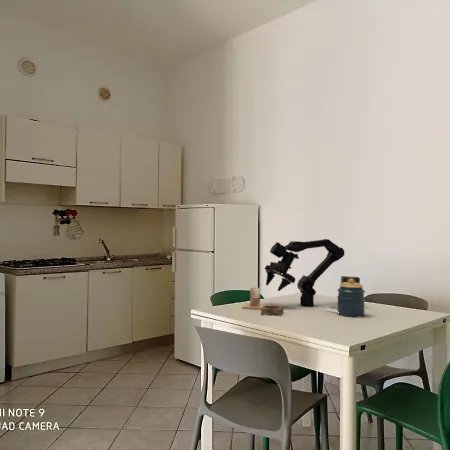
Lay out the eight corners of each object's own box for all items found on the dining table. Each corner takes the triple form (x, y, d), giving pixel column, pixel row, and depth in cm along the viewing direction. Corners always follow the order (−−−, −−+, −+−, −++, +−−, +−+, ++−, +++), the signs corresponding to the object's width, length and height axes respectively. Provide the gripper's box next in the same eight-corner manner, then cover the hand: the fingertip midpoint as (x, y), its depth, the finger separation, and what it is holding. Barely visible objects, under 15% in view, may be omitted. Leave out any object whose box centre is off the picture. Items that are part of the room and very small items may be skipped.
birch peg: (261, 305, 229) (261, 288, 229) (255, 306, 225) (255, 289, 225) (254, 304, 232) (254, 287, 232) (248, 305, 229) (248, 288, 229)
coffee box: (341, 307, 234) (342, 277, 234) (339, 305, 240) (340, 276, 240) (359, 308, 233) (360, 277, 233) (357, 306, 239) (357, 276, 239)
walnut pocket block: (283, 312, 218) (283, 306, 218) (280, 315, 209) (281, 309, 209) (264, 310, 220) (264, 304, 220) (261, 314, 211) (261, 308, 211)
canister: (345, 317, 207) (346, 280, 207) (332, 312, 219) (332, 277, 220) (370, 316, 210) (370, 279, 210) (355, 311, 223) (355, 276, 223)
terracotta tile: (266, 306, 233) (266, 304, 233) (263, 310, 222) (263, 308, 222) (246, 305, 236) (246, 303, 236) (242, 308, 225) (242, 306, 225)
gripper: (265, 251, 237) (251, 276, 235) (290, 261, 223) (275, 288, 221) (277, 259, 244) (264, 284, 242) (301, 269, 230) (287, 296, 227)
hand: (272, 287), depth 233 cm, fingers open, 9 cm apart
